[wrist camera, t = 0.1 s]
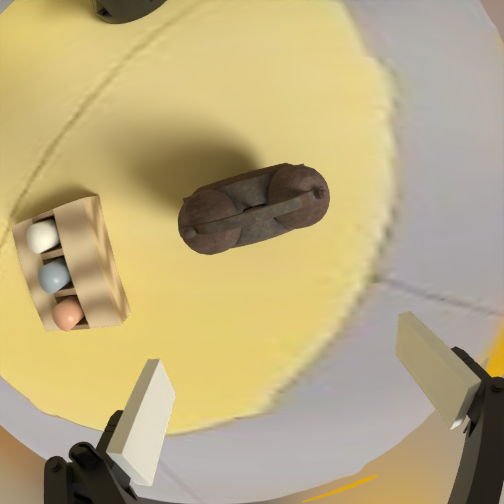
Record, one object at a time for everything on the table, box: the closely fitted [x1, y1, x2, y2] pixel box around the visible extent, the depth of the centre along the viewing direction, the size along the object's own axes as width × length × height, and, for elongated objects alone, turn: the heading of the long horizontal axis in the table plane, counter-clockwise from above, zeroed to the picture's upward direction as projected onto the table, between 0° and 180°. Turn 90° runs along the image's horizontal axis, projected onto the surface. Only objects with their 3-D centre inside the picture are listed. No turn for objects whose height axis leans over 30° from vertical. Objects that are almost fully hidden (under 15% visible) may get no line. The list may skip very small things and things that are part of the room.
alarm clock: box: [178, 163, 330, 255], centre depth 29 cm, size 14×7×20 cm, turn 106°
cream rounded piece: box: [26, 219, 60, 253], centre depth 34 cm, size 4×4×4 cm
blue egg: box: [38, 258, 72, 294], centre depth 35 cm, size 4×4×4 cm
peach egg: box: [52, 295, 85, 331], centre depth 37 cm, size 4×4×4 cm
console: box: [11, 195, 131, 331], centre depth 38 cm, size 20×18×5 cm
